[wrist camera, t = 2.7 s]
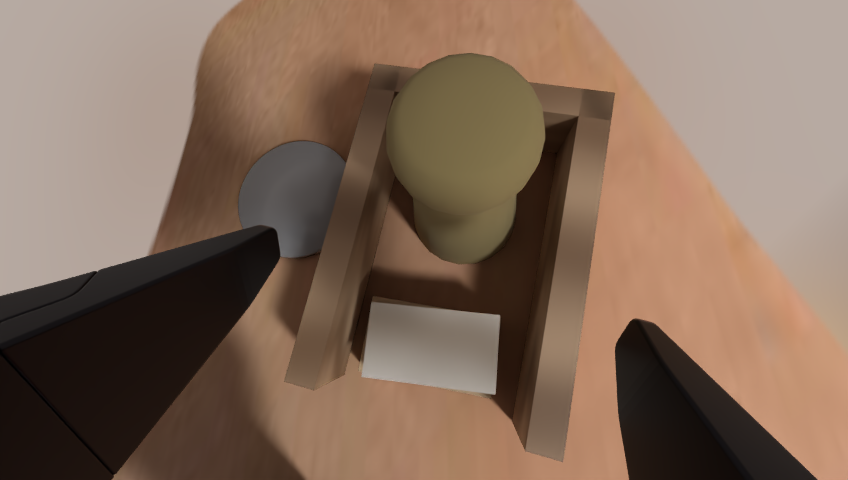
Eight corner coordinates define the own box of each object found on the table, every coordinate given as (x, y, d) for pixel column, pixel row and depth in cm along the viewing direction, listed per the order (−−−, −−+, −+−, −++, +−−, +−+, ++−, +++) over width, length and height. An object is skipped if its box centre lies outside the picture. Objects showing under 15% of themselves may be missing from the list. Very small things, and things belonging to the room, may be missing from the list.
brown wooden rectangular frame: (541, 429, 18) (563, 462, 14) (319, 367, 20) (283, 381, 16) (586, 134, 21) (614, 92, 17) (390, 106, 23) (374, 63, 19)
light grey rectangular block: (489, 392, 19) (493, 406, 16) (365, 366, 20) (348, 376, 17) (499, 315, 19) (505, 315, 16) (379, 294, 20) (365, 291, 17)
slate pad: (361, 248, 21) (359, 247, 20) (243, 266, 21) (238, 265, 21) (352, 135, 22) (349, 132, 22) (242, 155, 23) (238, 151, 23)
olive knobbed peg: (519, 170, 21) (578, 18, 10) (511, 270, 20) (568, 218, 9) (420, 163, 21) (377, 16, 11) (407, 258, 20) (344, 198, 10)
